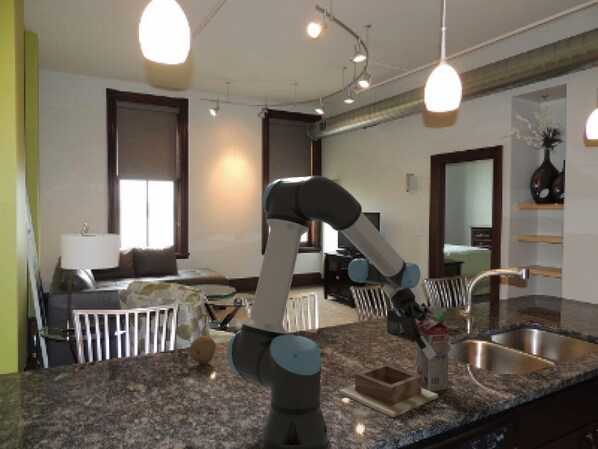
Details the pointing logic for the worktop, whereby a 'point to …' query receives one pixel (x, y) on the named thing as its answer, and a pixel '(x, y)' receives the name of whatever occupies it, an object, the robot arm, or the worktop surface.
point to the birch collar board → (388, 390)
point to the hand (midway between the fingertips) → (441, 353)
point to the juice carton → (437, 366)
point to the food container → (438, 312)
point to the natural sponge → (202, 349)
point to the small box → (393, 323)
